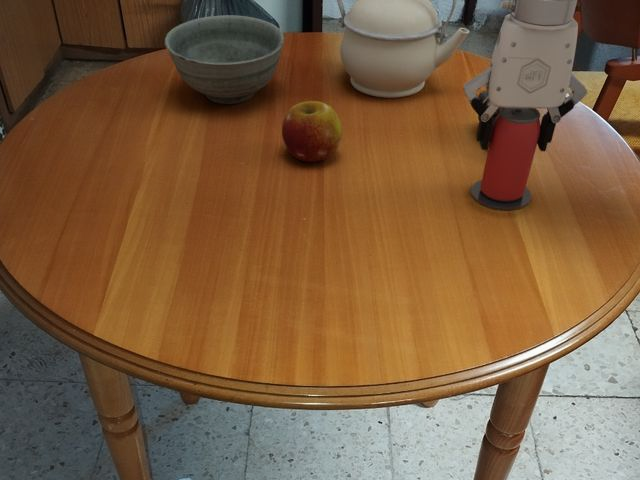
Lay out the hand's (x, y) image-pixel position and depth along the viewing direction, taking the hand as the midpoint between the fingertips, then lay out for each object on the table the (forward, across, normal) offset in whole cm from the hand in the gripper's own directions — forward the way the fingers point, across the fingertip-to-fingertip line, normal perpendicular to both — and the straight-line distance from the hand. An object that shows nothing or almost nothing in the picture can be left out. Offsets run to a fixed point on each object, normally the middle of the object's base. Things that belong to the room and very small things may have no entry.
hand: (512, 145), depth 96 cm
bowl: (+8, -45, +34) cm, 57 cm away
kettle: (+8, -14, +40) cm, 43 cm away
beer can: (+7, 0, 0) cm, 7 cm away
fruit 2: (+8, +2, +17) cm, 19 cm away
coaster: (+8, 0, 0) cm, 8 cm away
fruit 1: (+8, -29, +11) cm, 32 cm away
